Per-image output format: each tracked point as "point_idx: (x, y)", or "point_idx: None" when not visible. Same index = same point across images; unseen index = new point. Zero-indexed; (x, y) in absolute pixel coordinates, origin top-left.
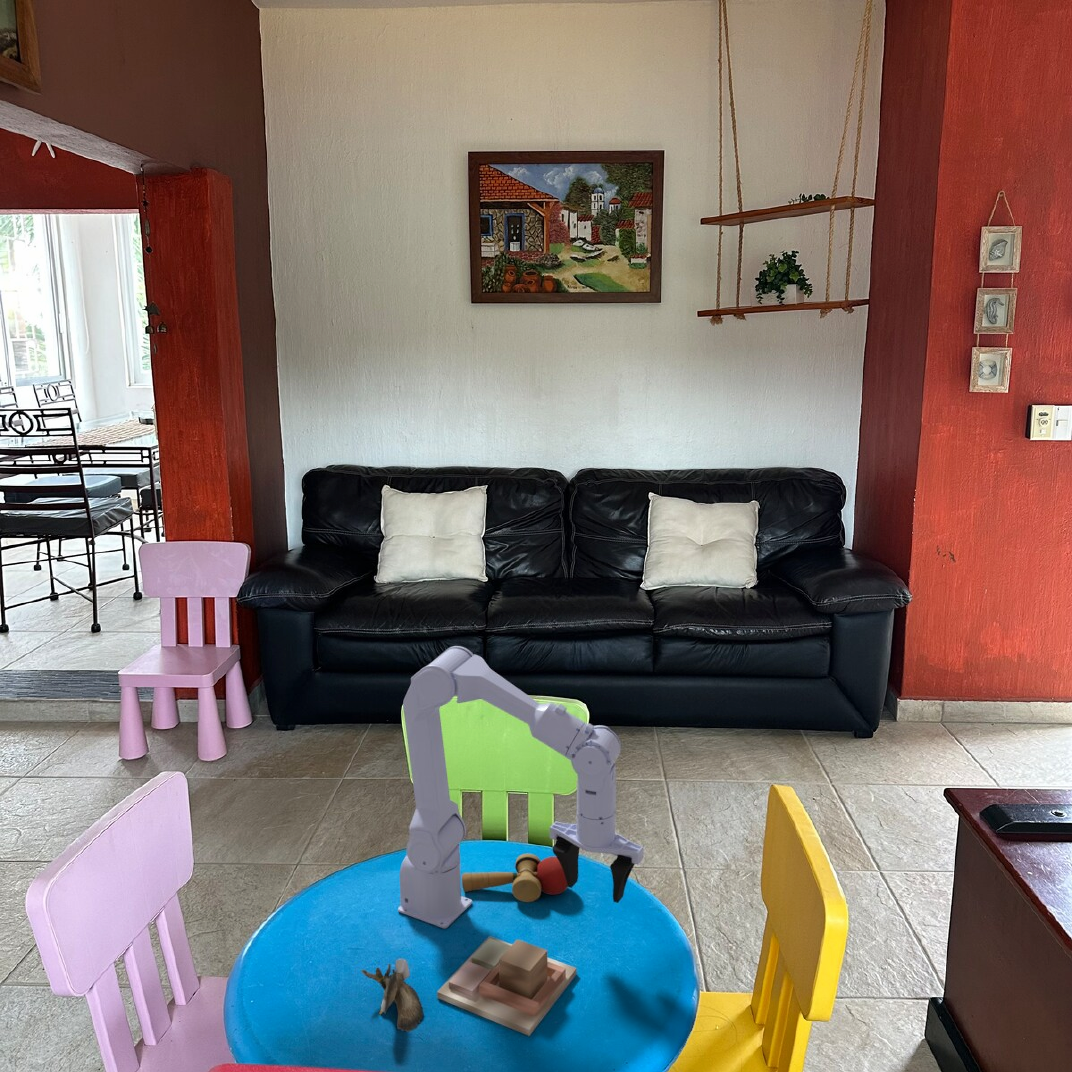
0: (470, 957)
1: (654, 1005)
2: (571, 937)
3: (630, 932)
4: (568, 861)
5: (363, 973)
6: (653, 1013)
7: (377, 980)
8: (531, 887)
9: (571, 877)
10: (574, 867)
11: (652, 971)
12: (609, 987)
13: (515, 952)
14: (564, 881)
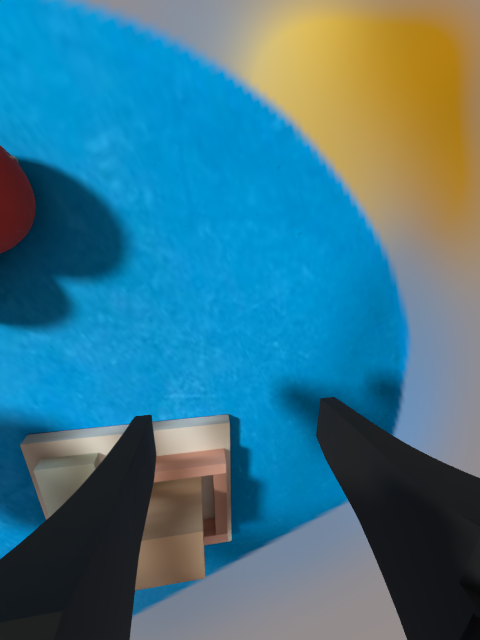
0: (41, 500)
1: (367, 404)
2: (163, 338)
3: (269, 257)
4: (129, 613)
5: None
6: (370, 417)
7: None
8: None
9: (148, 489)
10: (136, 490)
11: (345, 340)
12: (291, 409)
13: (148, 565)
14: (21, 217)
